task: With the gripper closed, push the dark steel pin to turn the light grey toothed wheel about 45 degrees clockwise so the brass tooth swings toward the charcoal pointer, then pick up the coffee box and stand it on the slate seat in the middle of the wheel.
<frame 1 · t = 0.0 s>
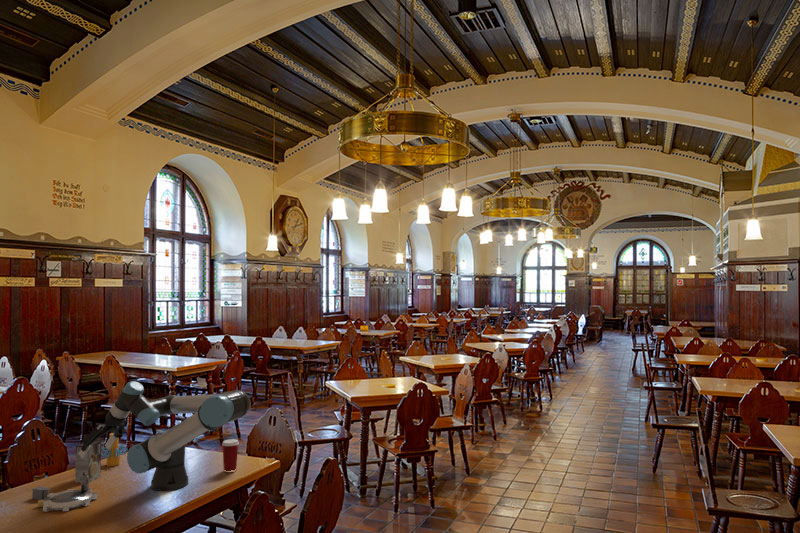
hand: (94, 451, 236), 15 cm above the table, tool tilted 35°, fingers open, 13 cm apart
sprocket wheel: (68, 491, 218), point 4 cm above the table, hinge at 0.0°
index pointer: (40, 498, 223), on the table
paper cup: (229, 471, 259), on the table
yellow and blue toy: (113, 465, 267), on the table
coffee box: (87, 479, 246), on the table
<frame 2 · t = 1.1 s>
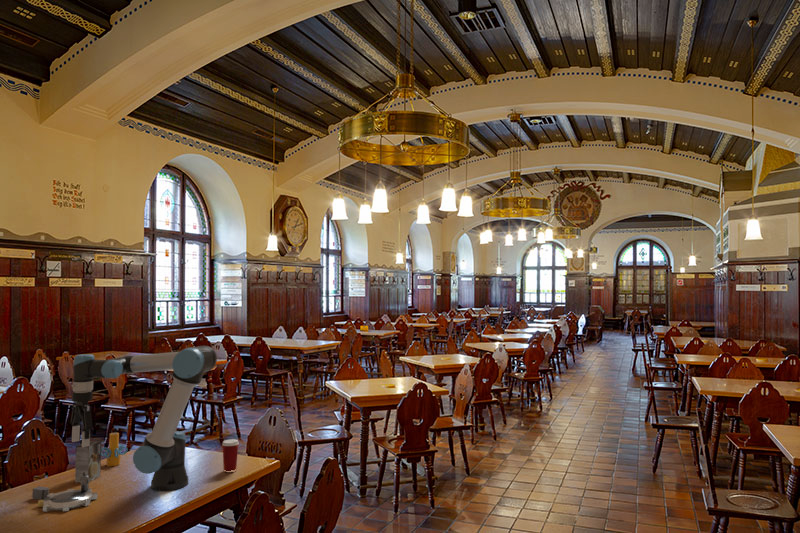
hand: (80, 443, 231), 20 cm above the table, tool pointing down, fingers open, 11 cm apart
nothing on the table moved.
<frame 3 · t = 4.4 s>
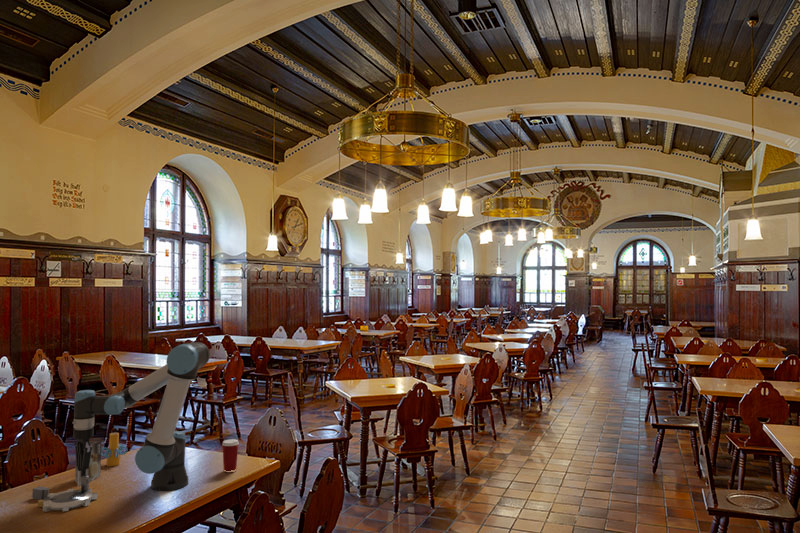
hand: (81, 485, 228), 4 cm above the table, tool pointing down, fingers closed
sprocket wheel: (68, 491, 218), point 4 cm above the table, hinge at 0.5°, touching gripper
everything else where it was.
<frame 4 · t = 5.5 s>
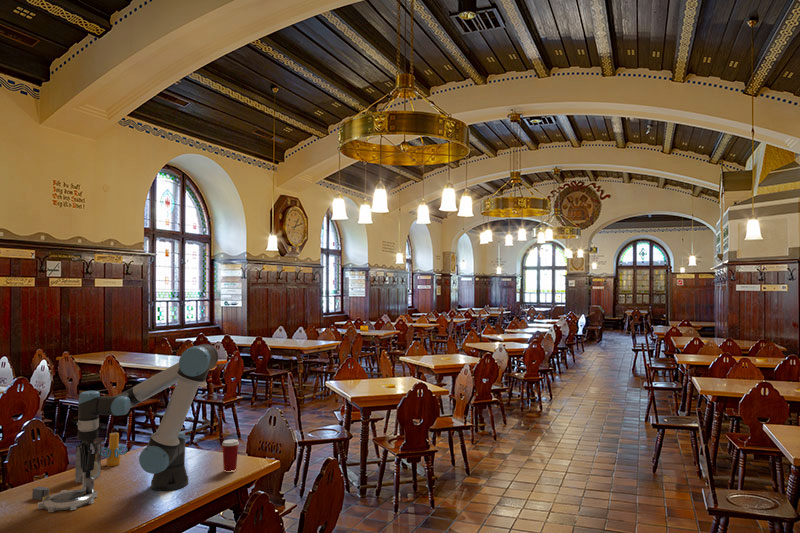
hand: (86, 486, 226), 4 cm above the table, tool pointing down, fingers closed
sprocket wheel: (68, 491, 218), point 4 cm above the table, hinge at 30.8°, touching gripper
everything else where it was.
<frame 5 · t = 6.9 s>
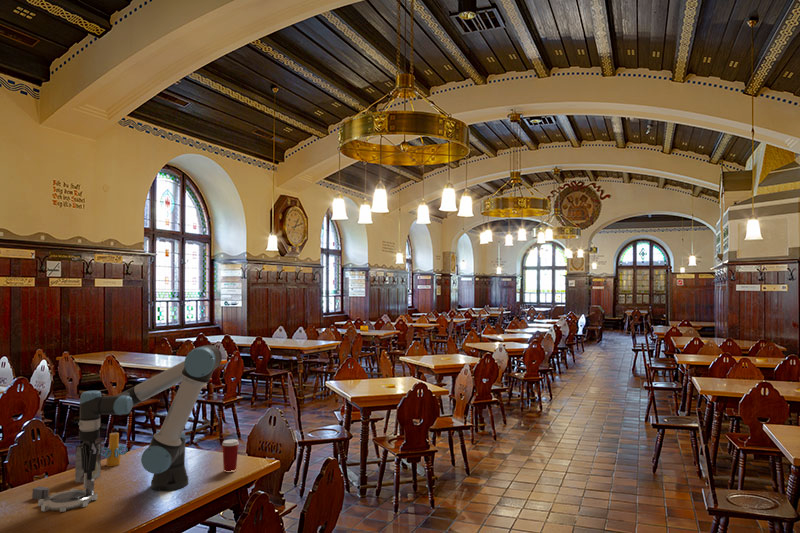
hand: (87, 487, 224), 4 cm above the table, tool pointing down, fingers closed
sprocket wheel: (68, 491, 218), point 4 cm above the table, hinge at 50.8°
everything else where it was.
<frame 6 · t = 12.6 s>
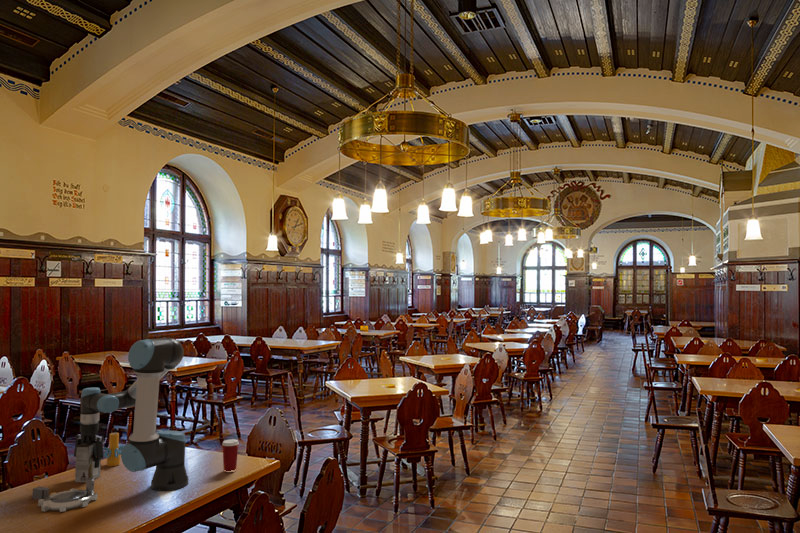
hand: (87, 473, 246), 2 cm above the table, tool pointing down, fingers closed on coffee box, 7 cm apart
coffee box: (87, 479, 246), on the table, touching gripper
everything else where it was.
when the fingers open (6 cm above the table, at t = 19.5 s): coffee box drops 1 cm, resting on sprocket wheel.
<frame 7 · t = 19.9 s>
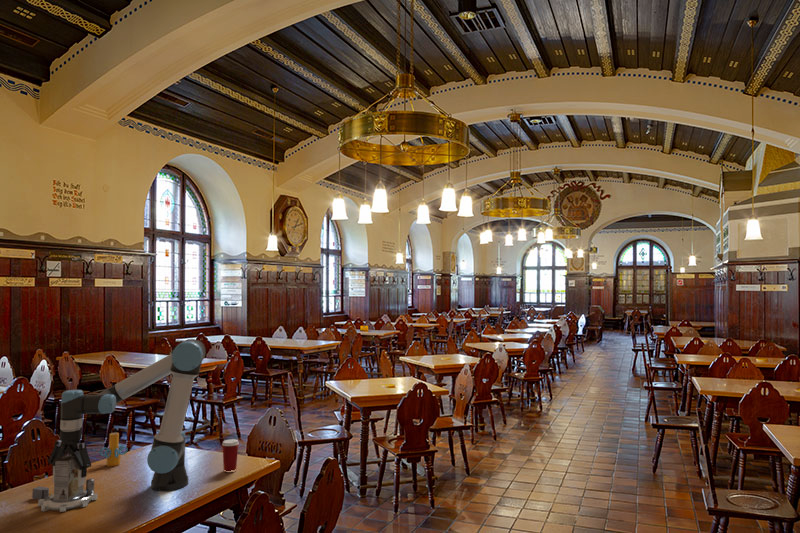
hand: (68, 483, 219), 8 cm above the table, tool pointing down, fingers open, 13 cm apart
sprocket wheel: (68, 491, 218), point 4 cm above the table, hinge at 50.8°, touching coffee box
coffee box: (68, 497, 218), point 2 cm above the table, touching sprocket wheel
everything else where it was.
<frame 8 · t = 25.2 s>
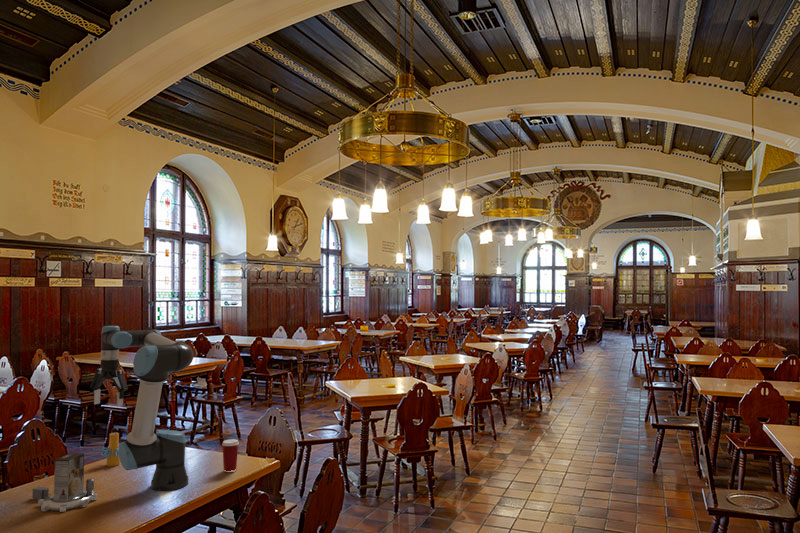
hand: (108, 404, 255), 32 cm above the table, tool pointing down, fingers open, 13 cm apart
nothing on the table moved.
at the end: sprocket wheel at +51° (first picture: +0°); coffee box 0.1 cm off-centre on the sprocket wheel, point 2.2 cm above the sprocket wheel's base; coffee box tilted 0° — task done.
